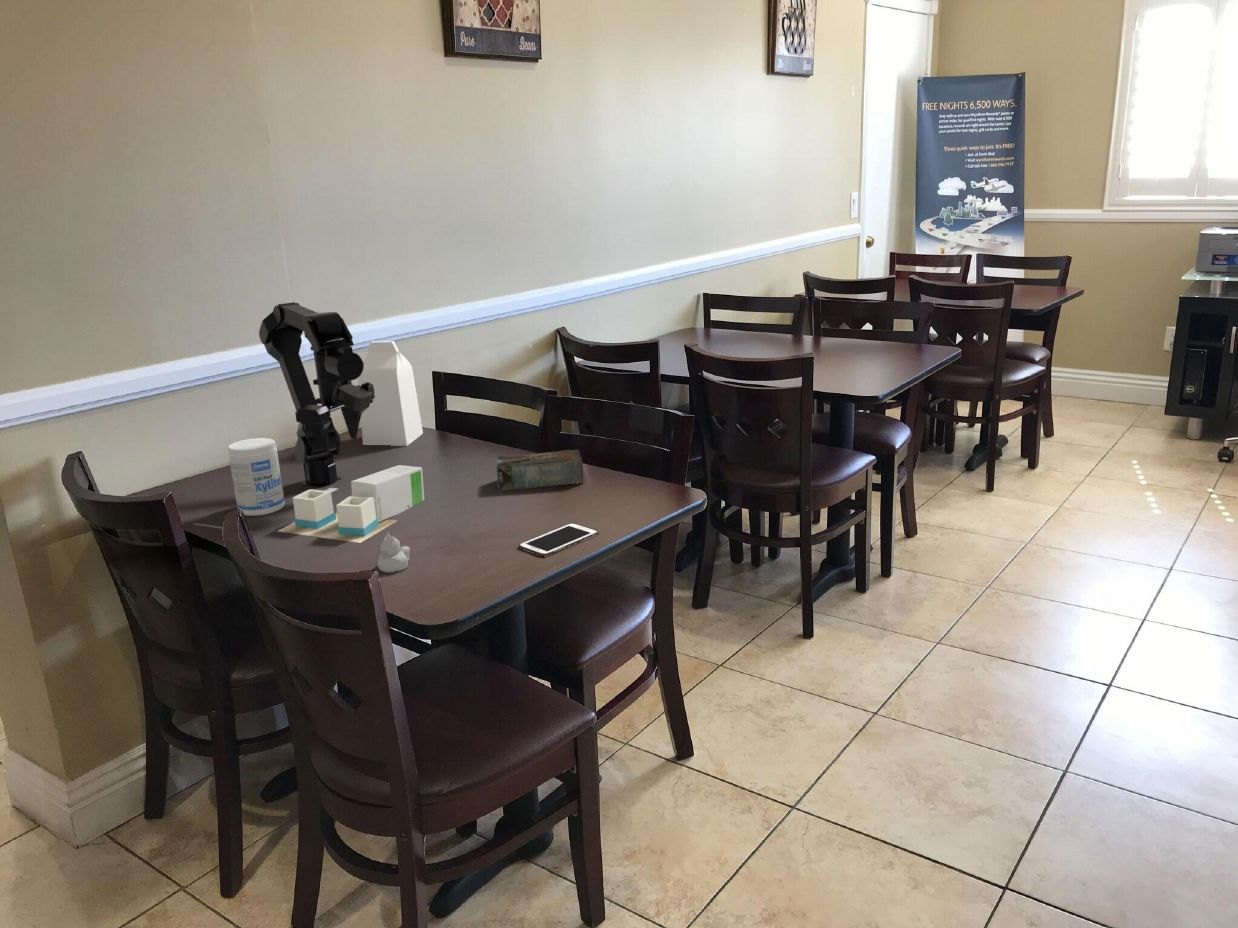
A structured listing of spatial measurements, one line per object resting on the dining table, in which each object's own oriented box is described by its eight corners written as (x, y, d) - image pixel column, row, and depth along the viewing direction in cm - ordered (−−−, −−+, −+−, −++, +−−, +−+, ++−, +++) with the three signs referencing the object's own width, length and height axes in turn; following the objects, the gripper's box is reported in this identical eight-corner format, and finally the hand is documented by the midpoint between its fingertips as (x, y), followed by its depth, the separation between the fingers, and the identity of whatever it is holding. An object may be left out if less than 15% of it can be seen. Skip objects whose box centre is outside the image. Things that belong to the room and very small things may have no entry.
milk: (363, 445, 247) (350, 346, 239) (380, 433, 258) (369, 337, 249) (407, 446, 245) (395, 345, 237) (423, 433, 255) (412, 337, 247)
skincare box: (425, 503, 203) (379, 525, 189) (399, 500, 205) (352, 521, 192) (422, 465, 201) (375, 484, 187) (396, 462, 203) (348, 481, 190)
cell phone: (600, 535, 183) (600, 530, 183) (544, 559, 173) (544, 554, 173) (572, 526, 188) (572, 521, 188) (516, 549, 178) (516, 544, 178)
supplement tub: (266, 519, 198) (255, 451, 193) (228, 516, 200) (216, 449, 196) (294, 503, 206) (284, 438, 202) (258, 500, 209) (247, 436, 205)
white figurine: (371, 574, 169) (366, 532, 167) (400, 561, 174) (395, 520, 171) (391, 581, 166) (386, 538, 163) (420, 568, 171) (415, 526, 168)
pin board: (277, 535, 188) (274, 512, 187) (318, 514, 199) (314, 492, 197) (360, 547, 181) (357, 523, 179) (398, 525, 191) (395, 501, 190)
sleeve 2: (338, 534, 185) (334, 505, 183) (353, 523, 190) (349, 495, 188) (364, 536, 184) (361, 507, 182) (378, 525, 189) (375, 497, 187)
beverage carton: (497, 480, 216) (495, 452, 214) (582, 474, 218) (580, 446, 216) (497, 492, 209) (495, 463, 207) (584, 485, 211) (583, 457, 209)
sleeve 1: (295, 526, 190) (291, 497, 188) (314, 516, 195) (310, 488, 193) (318, 529, 188) (313, 500, 186) (336, 519, 193) (332, 491, 191)
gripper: (333, 385, 189) (343, 460, 194) (389, 365, 205) (397, 435, 210) (288, 382, 193) (299, 456, 198) (346, 363, 210) (355, 431, 214)
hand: (340, 444), depth 205 cm, fingers open, 9 cm apart
